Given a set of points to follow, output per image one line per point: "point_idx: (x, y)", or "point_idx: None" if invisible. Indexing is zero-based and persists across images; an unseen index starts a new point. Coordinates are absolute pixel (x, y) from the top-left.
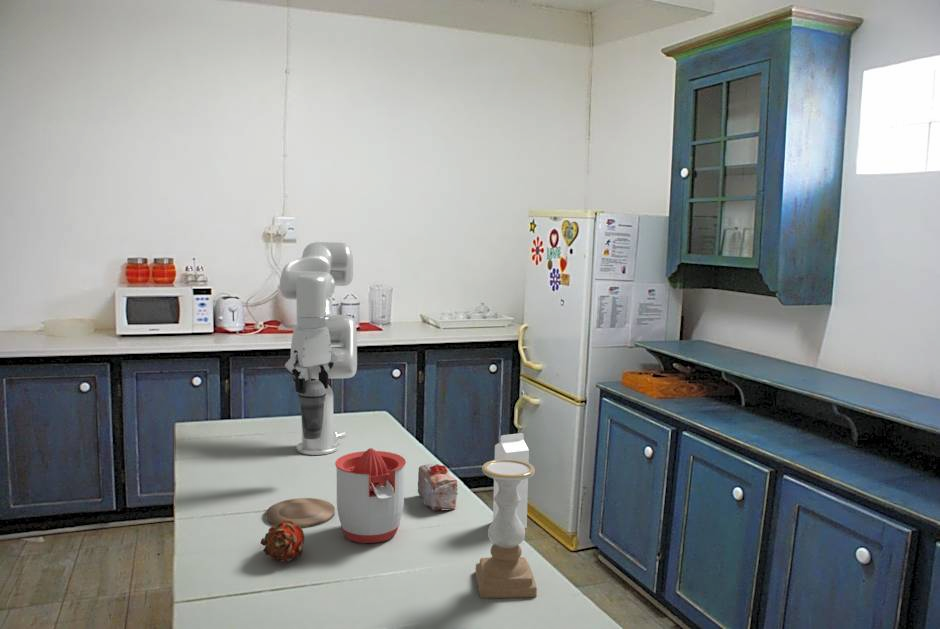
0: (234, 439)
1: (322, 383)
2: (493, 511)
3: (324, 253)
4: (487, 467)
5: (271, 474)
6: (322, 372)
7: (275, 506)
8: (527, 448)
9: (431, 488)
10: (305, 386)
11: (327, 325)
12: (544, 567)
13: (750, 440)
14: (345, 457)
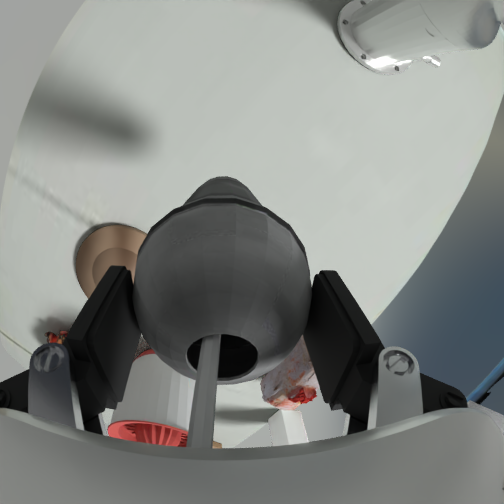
0: None
1: (314, 327)
2: (282, 417)
3: None
4: None
5: (203, 65)
6: (349, 386)
7: (98, 238)
8: None
9: (266, 396)
10: (148, 341)
11: None
12: (234, 445)
13: (496, 368)
14: (135, 422)
